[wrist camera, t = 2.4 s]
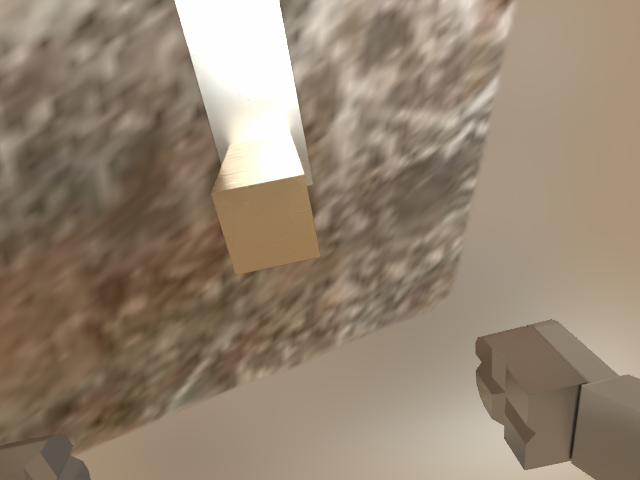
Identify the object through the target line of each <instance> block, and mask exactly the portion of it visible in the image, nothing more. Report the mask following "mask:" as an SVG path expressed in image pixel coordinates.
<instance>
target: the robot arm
mask: <svg viewBox="0 0 640 480" xmlns="http://www.w3.org/2000/svg"><path fill="white" fill-rule="evenodd" d="M476 355H477V356H478V358H479V359H480V360H481V362H482V363H481V364H480V366H479V367H478V368H477V370H476V381H477V387H478V390H479V394H480V397H481V400H482V402H483V404H484V406H485V408H486V410H487V412H488V413H489V415H490V416H491V418H492V419H493V420H495V421H497V422H499V423H500V424H502V425H504V439H505V440H506V442H507V444H508V445H509V447H510V448H511V450H512V451H513V453H514V454H515V456H516V458H517V459H518V461H519V462H520V464H521V465H522V467H523V469H524V470H528V469H533V468H538V467H543V466H548V465H552V464H557V463H562V462H567V461H571V463H572V464H573V465H575V466H576V467H578V468H579V469H581V470H582V471H584V472H585V473H587V474H588V475H590V476H591V477H592V478H594V479H595V480H640V379H639V378H636V377H633V376H631V375H623V376H619V375H618V374H616V373H615V372H614V371H613V370H612V369H611V368H610V367H609V366H608V365H606V364H605V363H604V362H603V361H602V360H601V359H600V358H598V357H597V356H596V355H595V354H594V353H593V352H592V351H591V350H590V349H588V348H587V347H586V346H585V345H584V344H583V343H582V342H581V341H579V340H578V339H577V338H576V337H575V336H574V335H573V334H572V333H570V332H569V331H568V330H567V329H566V328H565V327H564V326H562V325H561V324H560V323H559V322H557V321H555V320H552V319H551V320H547V321H543V322H539V323H535V324H531V325H527V326H525V327H520V328H515V329H511V330H507V331H502V332H498V333H494V334H490V335H486V336H481V337H478V338H477V341H476ZM72 447H73V445H72V444H71V442H70V441H69V440H68V438H67V437H66V436H65V434H52V435H47V436H42V437H37V438H32V439H28V440H23V441H18V442H13V443H8V444H4V445H2V446H0V480H91V479H90V475H89V471H88V469H87V467H86V466H85V464H84V462H83V461H81V460H79V459H77V458H75V457H72V456H70V454H71V450H72Z"/></svg>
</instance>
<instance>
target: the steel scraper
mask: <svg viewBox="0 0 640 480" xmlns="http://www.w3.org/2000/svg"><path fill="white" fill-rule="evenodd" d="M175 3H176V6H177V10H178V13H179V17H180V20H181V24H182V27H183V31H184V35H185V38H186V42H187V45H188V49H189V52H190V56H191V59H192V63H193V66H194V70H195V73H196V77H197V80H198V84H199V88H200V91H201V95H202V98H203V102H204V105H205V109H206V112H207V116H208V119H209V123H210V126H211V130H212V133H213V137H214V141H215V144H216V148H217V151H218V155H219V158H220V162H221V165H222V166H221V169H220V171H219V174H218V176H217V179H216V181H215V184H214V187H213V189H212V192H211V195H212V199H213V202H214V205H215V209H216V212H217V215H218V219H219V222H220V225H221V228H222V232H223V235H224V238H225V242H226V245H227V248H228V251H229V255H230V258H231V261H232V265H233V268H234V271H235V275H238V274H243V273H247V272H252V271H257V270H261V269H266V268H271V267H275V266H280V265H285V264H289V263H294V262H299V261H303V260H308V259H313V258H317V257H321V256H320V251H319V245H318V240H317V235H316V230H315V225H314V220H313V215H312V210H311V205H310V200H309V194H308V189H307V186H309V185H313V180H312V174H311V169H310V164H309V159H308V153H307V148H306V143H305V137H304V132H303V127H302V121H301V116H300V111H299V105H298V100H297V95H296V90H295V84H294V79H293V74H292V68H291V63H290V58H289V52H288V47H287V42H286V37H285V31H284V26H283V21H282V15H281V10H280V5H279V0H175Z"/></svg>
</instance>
